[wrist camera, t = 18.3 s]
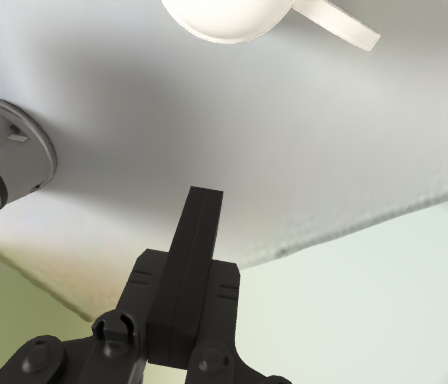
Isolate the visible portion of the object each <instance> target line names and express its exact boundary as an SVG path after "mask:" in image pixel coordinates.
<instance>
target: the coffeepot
mask: <svg viewBox="0 0 448 384" xmlns="http://www.w3.org/2000/svg"><path fill="white" fill-rule="evenodd" d="M161 1H162V3H163V4H164V6H165V7H166V9H167V10H168V12H169V13H170V14H171V16H172V17H173V18H174V19H175V20H176V21H177V22H178V23H179V24H180V25H181V26H182V27H183V28H185V29H186V30H187V31H189V32H190V33H192V34H193V35H195V36H197V37H199V38H201V39H203V40H206V41H209V42H213V43H218V44H238V43H243V42H247V41H250V40H253V39H255V38H257V37H259V36H261V35H263V34H264V33H266V32H267V31H269V30H270V29H272V28H273V27H274V26H275V25H276V24H277V23H278V22H279V21H280V20H281V19H282V18H283V17H284V16H285V15H286V14H287V12H288V11H289V10H290V8H293V9H294V10H296V11H298V12H299V13H301V14H302V15H304V16H306V17H307V18H309V19H310V20H312V21H314V22H315V23H317V24H319V25H320V26H322V27H324V28H325V29H327V30H329V31H330V32H332V33H334V34H335V35H337V36H339V37H341V38H342V39H344V40H346V41H348V42H349V43H351V44H353V45H355V46H357V47H359V48H361V49H363V50H365V51H368V52H369V51H370V50H371V49H372V47H373V46H374V45H375V43H376V42H377V41H378V39H379V38H380V37H381V35H380V34H378V33H377V32H375V31H374V30H372V29H371V28H369V27H368V26H366V25H365V24H363V23H362V22H360V21H359V20H357V19H356V18H354V17H353V16H351V15H350V14H348V13H347V12H345V11H344V10H342V9H341V8H339V7H337V6H336V5H334V4H333V3H331V2H330V1H328V0H161Z"/></svg>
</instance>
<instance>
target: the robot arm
mask: <svg viewBox="0 0 448 384" xmlns="http://www.w3.org/2000/svg"><path fill="white" fill-rule="evenodd" d="M56 164H57V161H56V155H55V151H54V148H53V146H52V144H51V142H50V140H49V138H48V137H47V135H46V134H45V133H44V131H43V130H42V129H41V128H40V127H39V125H38V124H37V123H36V122H35V121H34V120H32V119H31V118H30V117H29V116H28V115H26V114H25V113H24V112H22V111H21V110H19V109H18V108H16V107H14V106H13V105H11V104H9V103H6V102H4V101H2V100H0V210H1V209H2V208H3V207H4V206H5V205H6V204H8V203H10V202H13V201H15V200H17V199H19V198H21V197H24V196H26V195H28V194H30V193H32V192H35V191H37V190H38V189H40V188H42V187H43V186H44V185H45V184H46V183H47V182H48V181H49V180H50V179H51V178H52V177H53V175H54V173H55V170H56ZM223 192H224V191H218V190H212V189H206V188H200V187H194V186H191V188H190V191H189V194H188V197H187V200H186V202H185V205H184V208H183V211H182V214H181V217H180V220H179V223H178V226H177V229H176V232H175V235H174V238H173V241H172V244H171V247H170V250H169V252H163V251H158V250H152V249H146V250H145V251H144V252H143V253H142V254H141V255H140V256H139V257H138V258H137V260H136V263H135V265H134V267H133V270H132V272H131V274H130V276H129V279H128V282H127V283H126V286H125V288H124V290H123V293H122V295H121V297H120V299H119V302H118V304H117V306H116V309H115V310H111V311H109V312H106V313H104V314H103V315H101V316H100V317H99V318H97V319H96V321H95V322H94V324H93V325H92V326H91V328H92V331H93V335H92V336H90V337H86V338H82V339H76V340H69V341H63V342H61V341H60V340H59V339H58V338H57V337H55V336H50V335H44V336H38V337H36V338H33V339H31V340H29V341H27V342H26V343H25V344H24V345H23V346H22V347H20V348H19V349H18V350H17V352H16V353H15V354H14V355H13V356H12V357H11V358H10V359H9V360H8V361H7V363H6V364H5V365H4V366H3V367H2V368H1V369H0V384H143V372H144V369H145V365H146V362H147V359H148V363H150V364H156V365H161V366H167V367H172V368H178V369H184V370H187V375H186V380H185V384H292V383H291V382H290V381H289V380H287V379H285V378H284V377H282V376H275V375H272V376H269V377H266V376H264V375H262V374H261V373H259V372H257V371H255V370H254V369H252V368H250V367H249V366H248V365H246V364H245V363H244V362H243V361H242V360H241V358H240V357H239V355H238V353H237V351H236V347H235V330H236V319H237V307H238V297H239V285H240V273H239V270H238V267H237V264H236V263H230V262H225V261H219V260H213V259H212V257H213V252H214V247H215V241H216V236H217V230H218V224H219V217H220V211H221V205H222V198H223Z"/></svg>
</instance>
